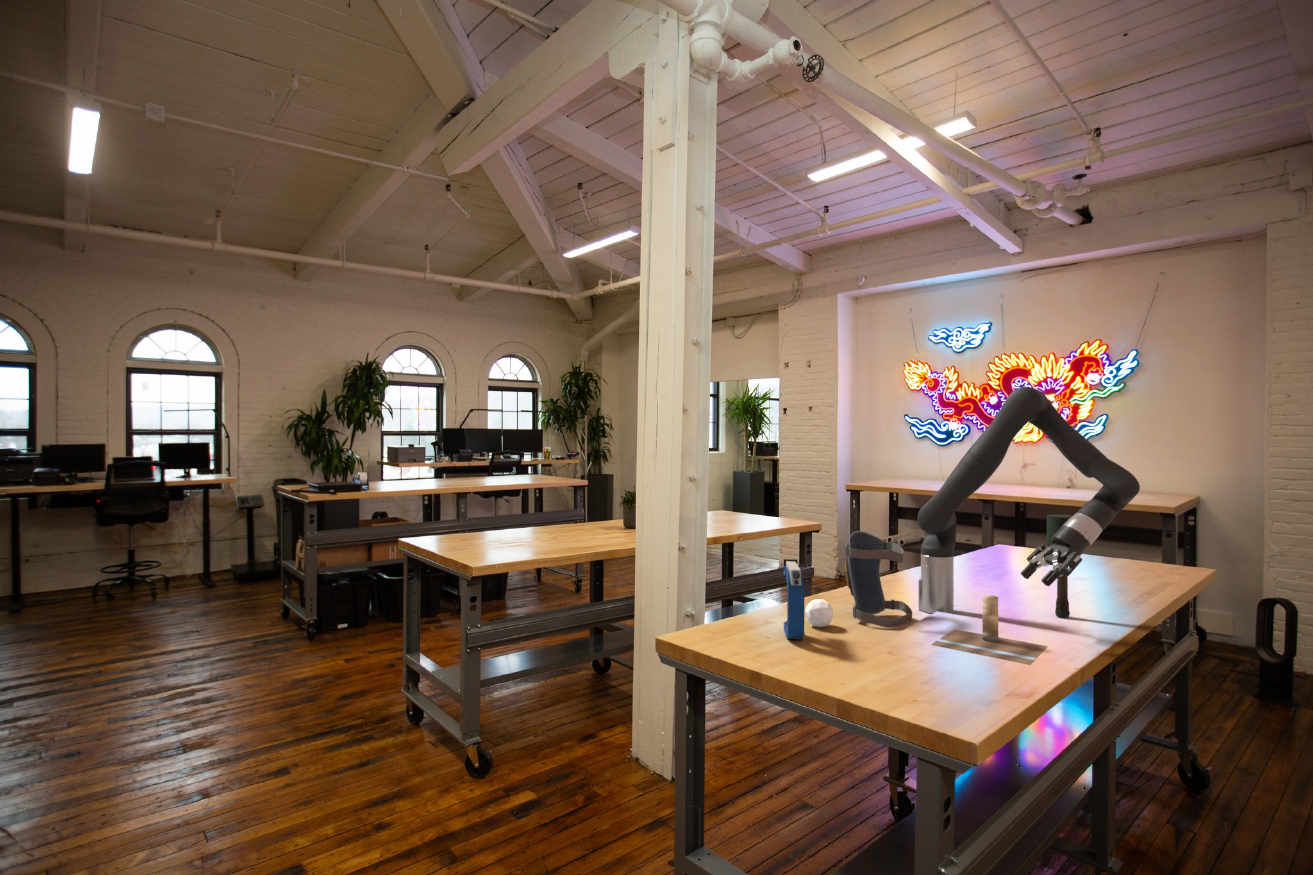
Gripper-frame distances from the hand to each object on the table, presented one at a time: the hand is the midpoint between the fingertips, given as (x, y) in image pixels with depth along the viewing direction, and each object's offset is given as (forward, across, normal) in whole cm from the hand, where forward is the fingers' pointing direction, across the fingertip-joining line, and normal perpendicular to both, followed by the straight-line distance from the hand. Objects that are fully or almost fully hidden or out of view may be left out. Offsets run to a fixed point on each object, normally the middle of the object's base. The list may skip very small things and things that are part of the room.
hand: (1033, 580), depth 168 cm
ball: (+47, -20, -23) cm, 56 cm away
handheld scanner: (+54, -11, -30) cm, 63 cm away
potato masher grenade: (-6, -25, +30) cm, 40 cm away
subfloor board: (+22, +4, +2) cm, 22 cm away
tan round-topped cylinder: (+19, 0, +3) cm, 19 cm away
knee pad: (+34, -26, -10) cm, 44 cm away
